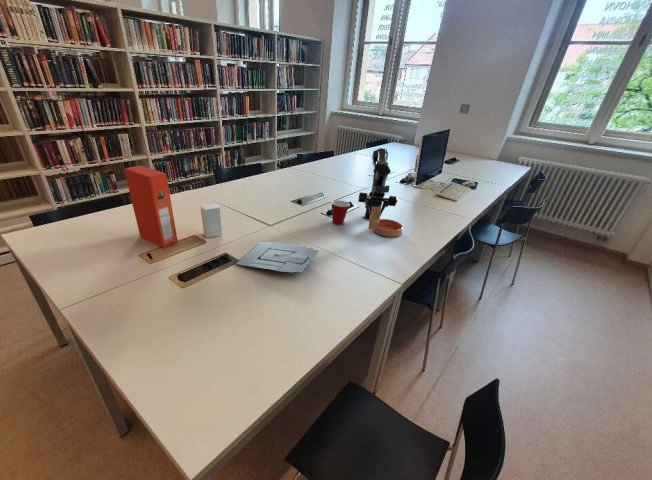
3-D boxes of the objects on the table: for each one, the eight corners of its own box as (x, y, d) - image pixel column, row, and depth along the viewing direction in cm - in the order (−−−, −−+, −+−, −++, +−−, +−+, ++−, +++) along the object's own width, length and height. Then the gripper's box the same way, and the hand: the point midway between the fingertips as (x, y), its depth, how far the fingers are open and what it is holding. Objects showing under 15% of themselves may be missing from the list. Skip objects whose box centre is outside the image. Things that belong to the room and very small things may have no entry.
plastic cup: (350, 221, 183) (353, 201, 177) (343, 228, 174) (346, 207, 168) (332, 217, 187) (334, 197, 180) (325, 223, 178) (327, 203, 172)
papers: (300, 280, 126) (299, 272, 124) (235, 269, 137) (234, 262, 135) (320, 254, 146) (320, 246, 144) (262, 246, 156) (261, 239, 154)
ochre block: (368, 228, 161) (371, 209, 156) (368, 224, 165) (371, 206, 160) (377, 229, 161) (381, 210, 155) (377, 225, 165) (381, 207, 159)
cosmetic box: (219, 231, 162) (217, 203, 154) (222, 236, 157) (220, 207, 150) (203, 233, 159) (199, 204, 151) (205, 238, 154) (202, 209, 146)
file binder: (162, 248, 144) (149, 177, 127) (139, 237, 151) (123, 168, 134) (177, 242, 149) (166, 173, 133) (154, 231, 157) (141, 165, 140)
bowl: (369, 233, 171) (370, 226, 169) (376, 223, 183) (378, 216, 181) (398, 240, 166) (399, 233, 164) (403, 229, 178) (405, 223, 176)
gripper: (362, 176, 155) (357, 205, 151) (401, 180, 153) (397, 210, 149) (360, 187, 166) (356, 215, 162) (396, 191, 163) (393, 219, 160)
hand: (375, 215), depth 158 cm, fingers closed on ochre block, 4 cm apart
